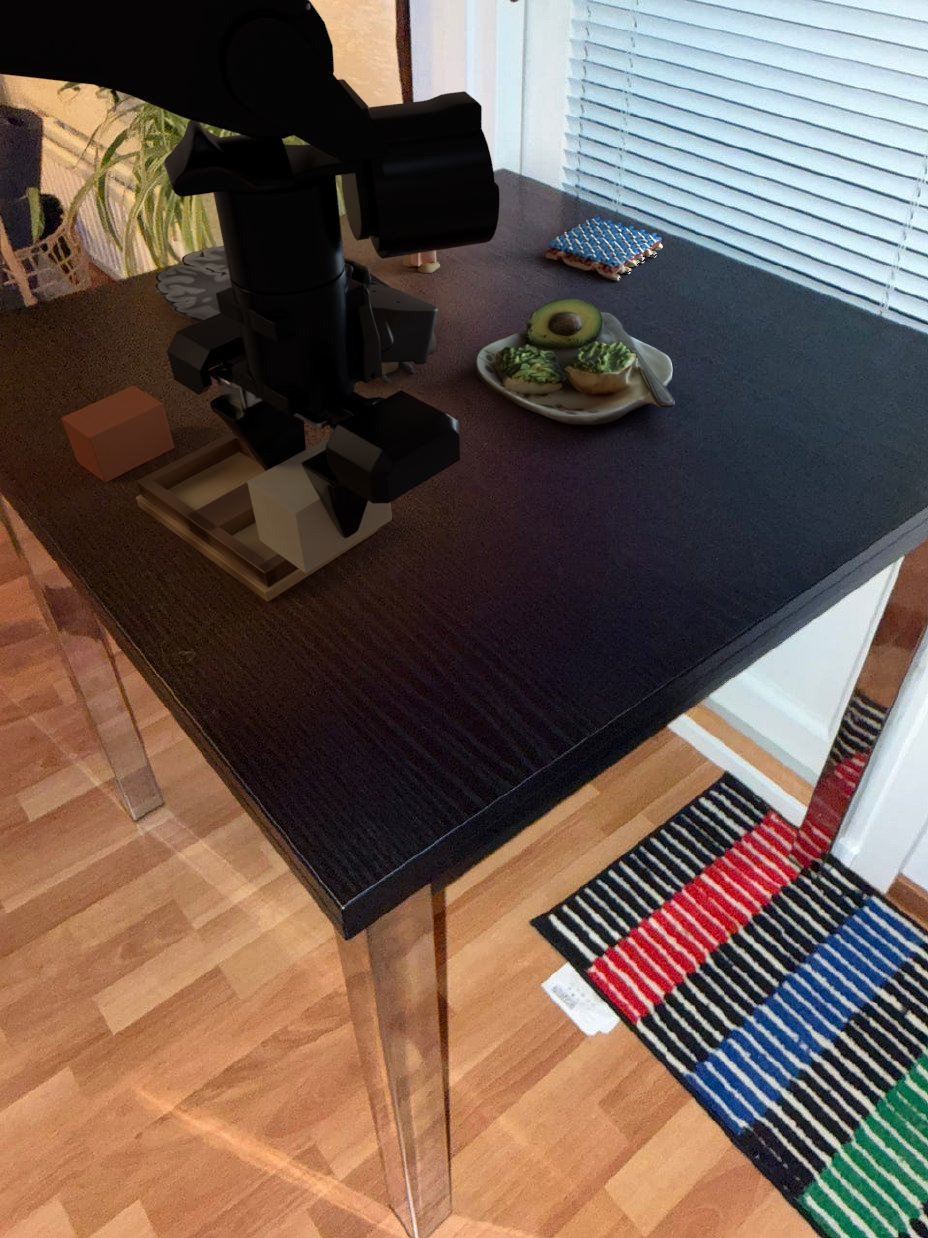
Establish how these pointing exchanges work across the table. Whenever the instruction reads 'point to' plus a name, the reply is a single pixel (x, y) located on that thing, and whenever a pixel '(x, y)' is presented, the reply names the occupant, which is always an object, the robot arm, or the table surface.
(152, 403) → the orange rectangular block
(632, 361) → the salad plate
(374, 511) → the cream block
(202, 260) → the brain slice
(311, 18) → the robot arm
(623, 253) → the woven mat
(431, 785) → the table surface
